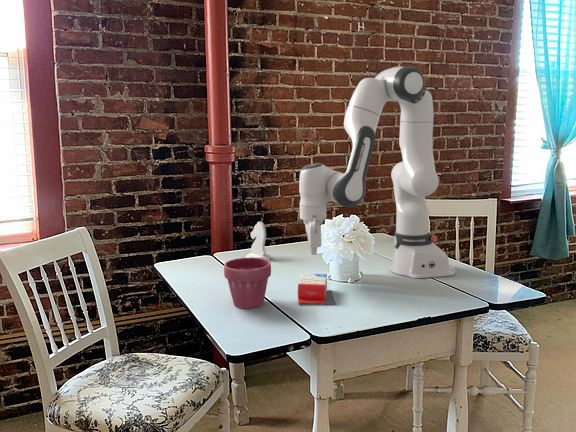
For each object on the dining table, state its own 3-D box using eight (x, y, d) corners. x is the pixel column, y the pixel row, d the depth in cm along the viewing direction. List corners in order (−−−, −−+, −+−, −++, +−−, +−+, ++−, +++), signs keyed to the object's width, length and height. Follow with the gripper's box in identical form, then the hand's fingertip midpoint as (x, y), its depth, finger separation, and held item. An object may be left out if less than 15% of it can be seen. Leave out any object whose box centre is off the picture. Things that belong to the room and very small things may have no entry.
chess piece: (259, 254, 229) (259, 217, 226) (276, 259, 222) (275, 221, 219) (240, 259, 223) (239, 221, 220) (257, 264, 216) (256, 225, 213)
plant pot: (230, 295, 182) (229, 256, 179) (274, 296, 180) (273, 257, 178) (220, 311, 168) (219, 269, 165) (267, 312, 166) (267, 270, 164)
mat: (331, 291, 184) (331, 290, 184) (335, 304, 172) (335, 303, 172) (297, 292, 184) (297, 291, 184) (299, 305, 172) (299, 304, 172)
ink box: (327, 273, 185) (325, 288, 170) (327, 288, 186) (325, 304, 172) (300, 273, 186) (296, 288, 171) (301, 287, 187) (296, 303, 172)
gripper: (325, 219, 178) (326, 262, 180) (320, 207, 198) (320, 245, 201) (305, 219, 178) (306, 262, 180) (301, 207, 198) (302, 246, 200)
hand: (313, 253), depth 191 cm, fingers closed
